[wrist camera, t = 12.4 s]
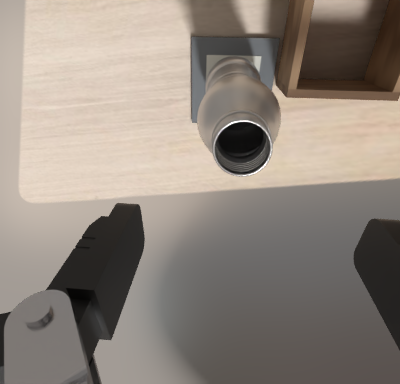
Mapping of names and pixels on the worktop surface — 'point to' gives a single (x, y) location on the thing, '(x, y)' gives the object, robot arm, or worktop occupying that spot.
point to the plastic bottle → (238, 117)
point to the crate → (341, 89)
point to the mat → (224, 47)
